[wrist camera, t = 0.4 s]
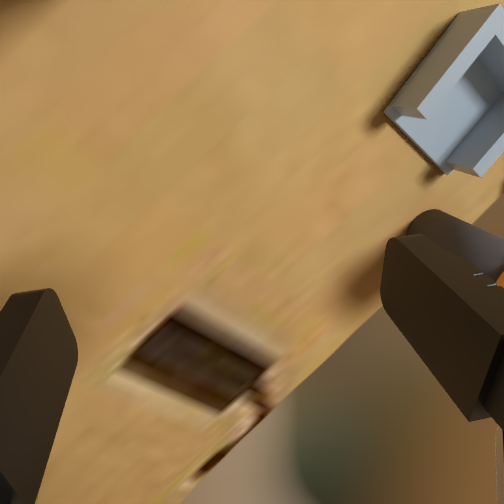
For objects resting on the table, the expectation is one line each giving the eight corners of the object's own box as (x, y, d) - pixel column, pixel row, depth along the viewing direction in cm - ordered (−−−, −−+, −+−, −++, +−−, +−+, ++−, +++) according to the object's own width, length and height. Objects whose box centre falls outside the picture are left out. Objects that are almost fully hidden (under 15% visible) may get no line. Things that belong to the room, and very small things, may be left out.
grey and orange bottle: (402, 215, 33) (527, 284, 22) (452, 199, 33) (599, 258, 22) (403, 263, 35) (517, 347, 24) (451, 248, 36) (583, 323, 25)
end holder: (444, 173, 32) (475, 184, 29) (382, 112, 28) (410, 116, 25) (515, 89, 30) (556, 90, 27) (459, 12, 27) (499, 3, 24)
